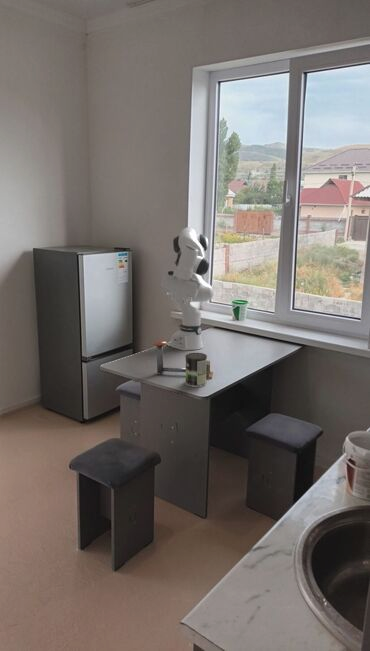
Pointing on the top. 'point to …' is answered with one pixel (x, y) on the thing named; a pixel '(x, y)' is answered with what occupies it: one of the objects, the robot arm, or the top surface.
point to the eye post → (208, 370)
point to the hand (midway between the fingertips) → (175, 301)
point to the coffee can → (196, 369)
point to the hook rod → (160, 359)
